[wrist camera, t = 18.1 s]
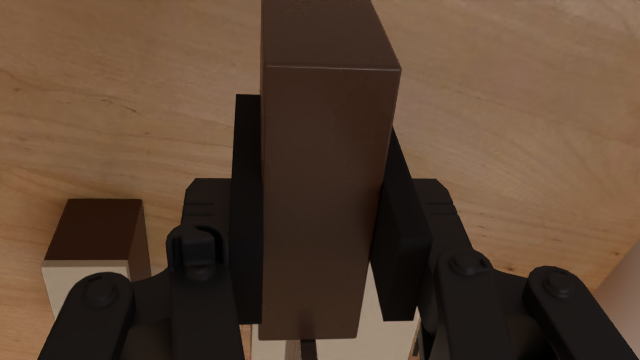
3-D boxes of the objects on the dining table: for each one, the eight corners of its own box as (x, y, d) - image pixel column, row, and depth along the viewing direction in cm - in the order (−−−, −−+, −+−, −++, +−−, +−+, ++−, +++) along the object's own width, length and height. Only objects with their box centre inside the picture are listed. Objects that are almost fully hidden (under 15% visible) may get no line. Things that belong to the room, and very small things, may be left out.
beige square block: (388, 302, 45) (405, 368, 40) (250, 303, 44) (250, 372, 39) (412, 199, 39) (435, 263, 34) (254, 197, 38) (254, 263, 33)
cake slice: (155, 306, 43) (143, 377, 38) (91, 307, 42) (70, 379, 38) (142, 199, 37) (126, 267, 32) (67, 198, 37) (40, 267, 32)
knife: (261, -14, 16) (263, 89, 11) (367, -9, 17) (415, 93, 12) (254, 441, 30) (253, 581, 25) (313, 439, 30) (324, 576, 25)
